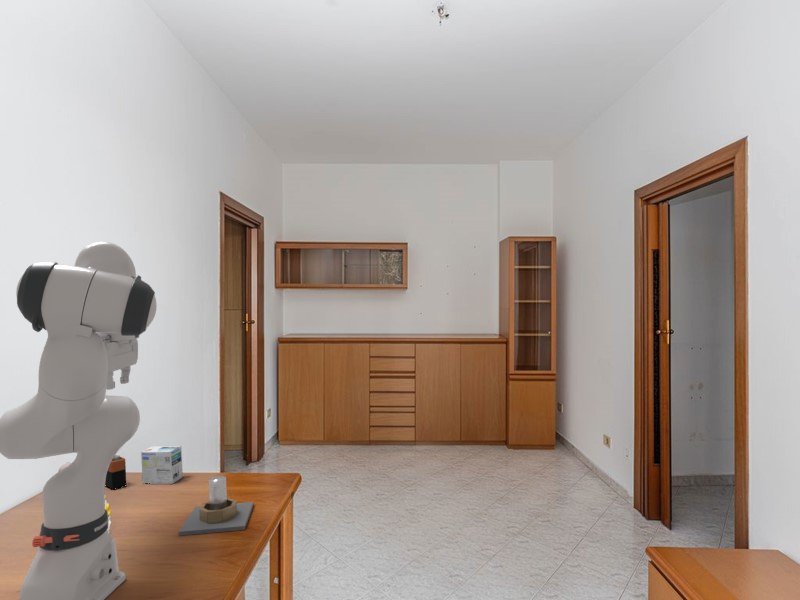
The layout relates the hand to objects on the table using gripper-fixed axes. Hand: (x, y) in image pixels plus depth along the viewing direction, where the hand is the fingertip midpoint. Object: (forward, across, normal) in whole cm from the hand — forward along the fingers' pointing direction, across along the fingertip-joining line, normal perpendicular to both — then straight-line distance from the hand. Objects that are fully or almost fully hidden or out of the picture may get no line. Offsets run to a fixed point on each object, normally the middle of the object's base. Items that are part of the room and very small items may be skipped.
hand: (117, 386), depth 140 cm
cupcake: (+37, +28, +26) cm, 53 cm away
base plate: (+37, -2, -25) cm, 45 cm away
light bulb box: (+37, +34, 0) cm, 50 cm away
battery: (+37, +32, +14) cm, 51 cm away
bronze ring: (+36, -2, -25) cm, 44 cm away
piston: (+36, -2, -25) cm, 44 cm away
